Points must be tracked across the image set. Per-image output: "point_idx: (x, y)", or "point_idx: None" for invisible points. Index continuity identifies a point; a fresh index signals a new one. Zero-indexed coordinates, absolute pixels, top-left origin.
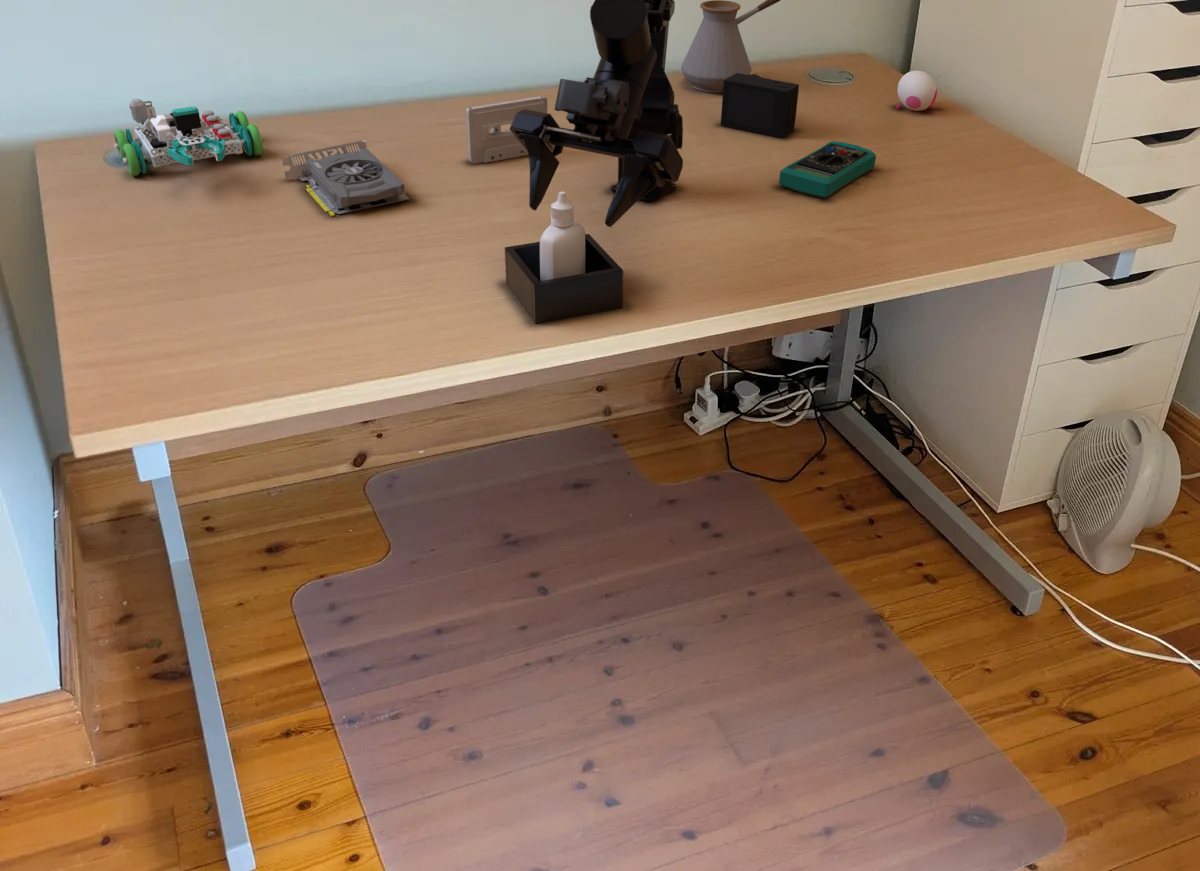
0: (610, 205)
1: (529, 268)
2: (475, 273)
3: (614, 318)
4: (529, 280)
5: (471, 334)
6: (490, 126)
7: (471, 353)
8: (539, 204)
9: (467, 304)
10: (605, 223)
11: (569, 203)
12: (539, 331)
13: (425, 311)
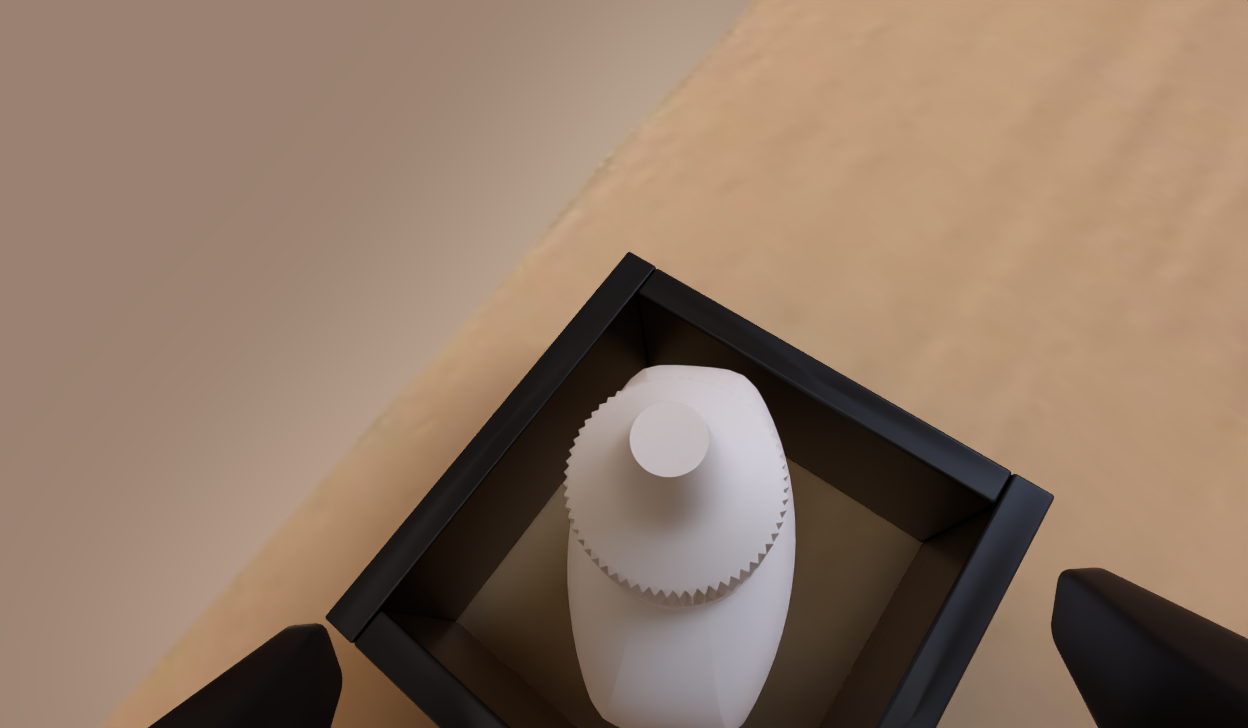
0: (211, 723)
1: (910, 599)
2: (1166, 548)
3: None
4: (684, 285)
5: (777, 181)
6: None
7: (699, 113)
8: (1091, 714)
9: (949, 315)
10: (321, 626)
11: (607, 508)
12: None
13: (1022, 203)
